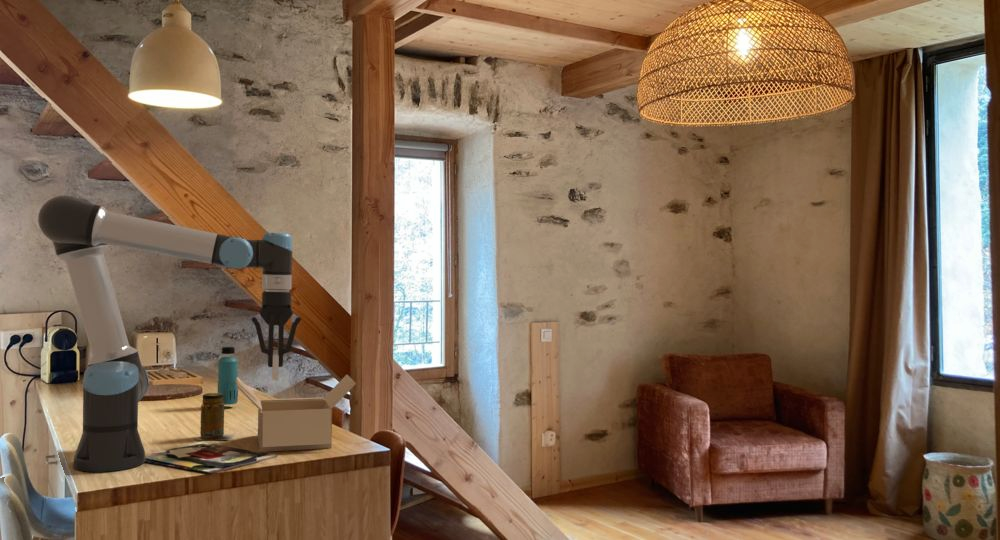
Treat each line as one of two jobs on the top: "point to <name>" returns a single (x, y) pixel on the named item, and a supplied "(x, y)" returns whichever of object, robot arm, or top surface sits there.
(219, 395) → the condiment
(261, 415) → the carton
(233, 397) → the beverage bottle
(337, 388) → the right flap
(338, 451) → the top surface
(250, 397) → the left flap
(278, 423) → the near flap
